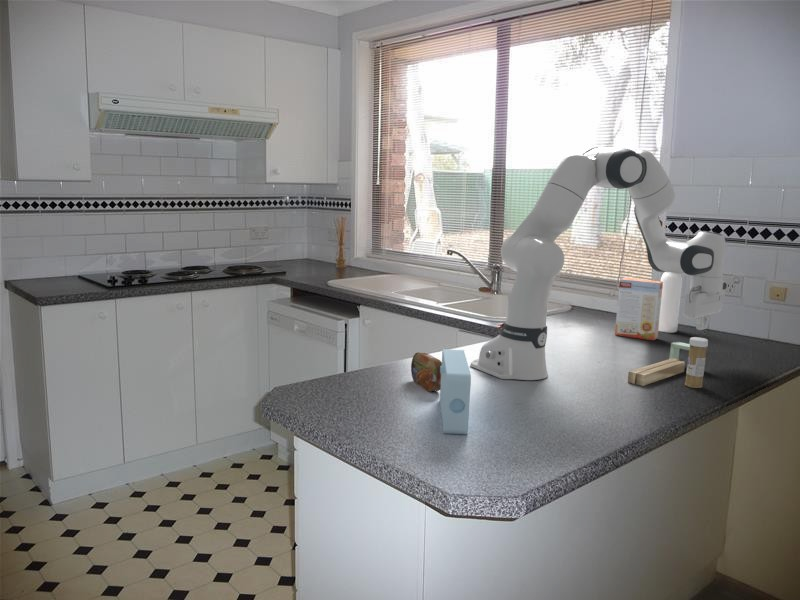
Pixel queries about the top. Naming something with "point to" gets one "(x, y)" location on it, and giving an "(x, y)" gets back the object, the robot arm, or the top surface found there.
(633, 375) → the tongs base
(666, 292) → the bottle
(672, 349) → the sleeve
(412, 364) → the tin
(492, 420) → the top surface
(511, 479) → the top surface
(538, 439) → the top surface
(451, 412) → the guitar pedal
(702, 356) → the sprinkles bottle
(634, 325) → the cracker box
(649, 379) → the tong arm
